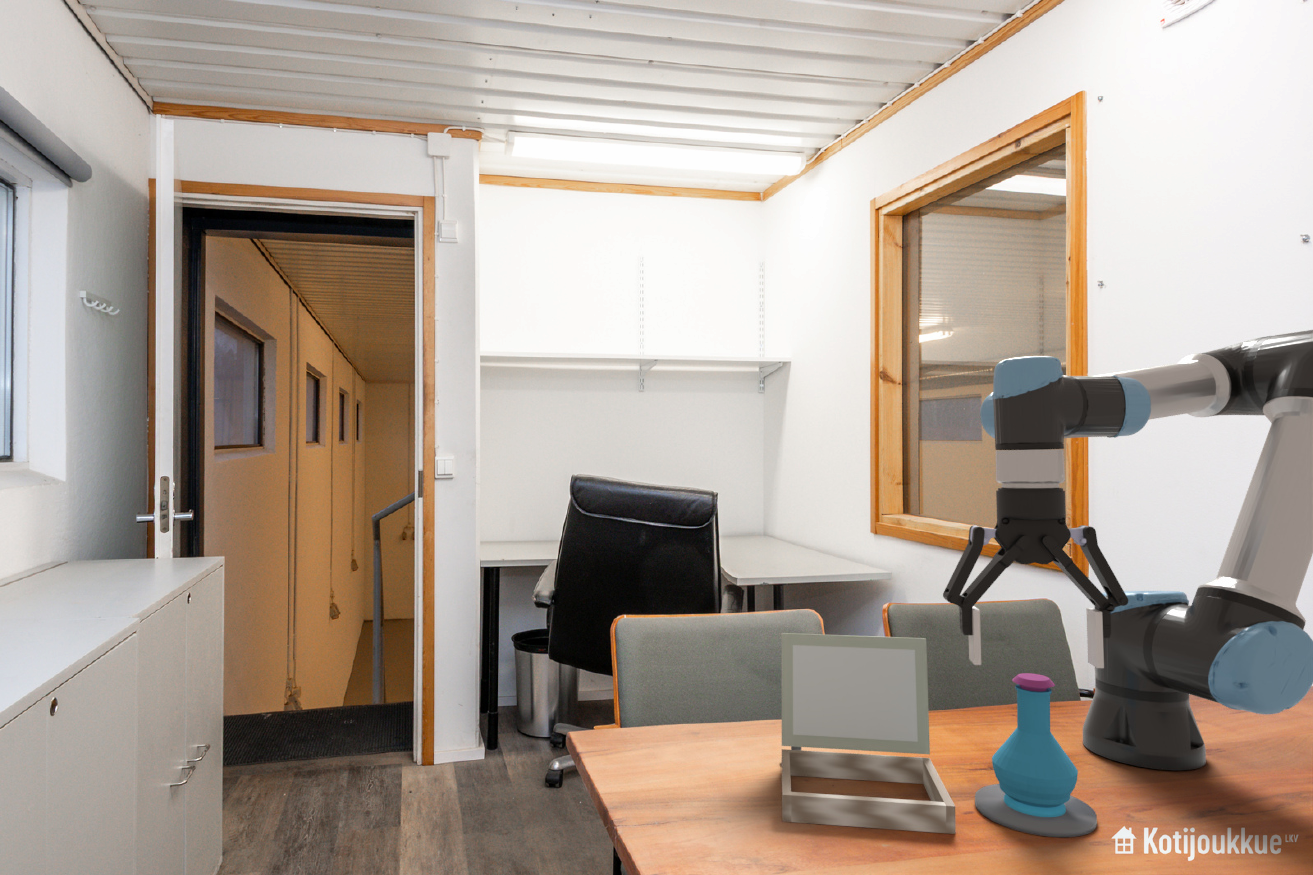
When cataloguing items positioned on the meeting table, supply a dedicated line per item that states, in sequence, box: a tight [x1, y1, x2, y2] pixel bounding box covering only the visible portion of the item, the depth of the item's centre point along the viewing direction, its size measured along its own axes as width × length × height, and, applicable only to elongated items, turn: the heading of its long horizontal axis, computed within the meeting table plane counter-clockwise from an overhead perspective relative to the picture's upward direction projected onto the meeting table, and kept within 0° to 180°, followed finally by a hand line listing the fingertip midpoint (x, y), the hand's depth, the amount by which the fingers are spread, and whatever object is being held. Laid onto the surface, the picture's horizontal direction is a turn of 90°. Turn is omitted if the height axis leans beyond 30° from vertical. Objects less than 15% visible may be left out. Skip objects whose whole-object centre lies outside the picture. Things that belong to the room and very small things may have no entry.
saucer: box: [974, 783, 1098, 838], centre depth 94 cm, size 13×13×1 cm
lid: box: [781, 632, 931, 755], centre depth 105 cm, size 19×15×1 cm
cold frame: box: [781, 748, 957, 835], centre depth 97 cm, size 19×15×3 cm
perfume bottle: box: [991, 672, 1079, 817], centre depth 94 cm, size 9×9×15 cm
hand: (1034, 664), depth 94 cm, fingers open, 13 cm apart
